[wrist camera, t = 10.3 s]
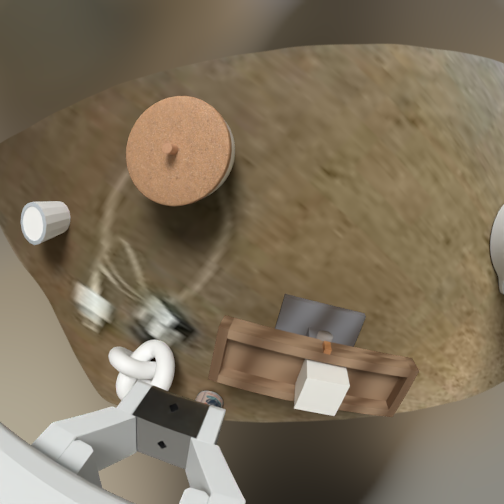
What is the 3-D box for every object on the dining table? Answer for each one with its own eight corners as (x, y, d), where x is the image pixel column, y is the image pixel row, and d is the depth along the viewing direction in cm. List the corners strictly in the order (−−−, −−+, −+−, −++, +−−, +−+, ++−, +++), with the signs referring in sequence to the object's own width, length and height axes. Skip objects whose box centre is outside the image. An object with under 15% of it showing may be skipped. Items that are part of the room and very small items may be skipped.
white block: (344, 362, 36) (349, 385, 31) (331, 390, 37) (334, 415, 32) (306, 353, 36) (307, 377, 31) (295, 383, 37) (294, 408, 32)
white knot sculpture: (188, 393, 51) (171, 426, 42) (129, 380, 52) (107, 408, 44) (184, 340, 48) (163, 370, 39) (120, 329, 50) (93, 353, 41)
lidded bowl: (156, 199, 43) (116, 207, 33) (159, 114, 40) (119, 98, 30) (242, 201, 42) (223, 209, 31) (245, 109, 39) (228, 87, 28)
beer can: (229, 404, 50) (213, 452, 38) (208, 412, 51) (190, 458, 39) (212, 385, 49) (192, 432, 38) (192, 394, 50) (169, 439, 39)
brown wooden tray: (403, 322, 42) (425, 357, 32) (373, 384, 45) (385, 426, 35) (239, 281, 44) (222, 311, 34) (223, 351, 47) (205, 390, 37)
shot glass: (46, 197, 46) (19, 201, 39) (72, 197, 45) (44, 202, 39) (47, 235, 48) (21, 243, 41) (73, 238, 47) (47, 246, 40)
